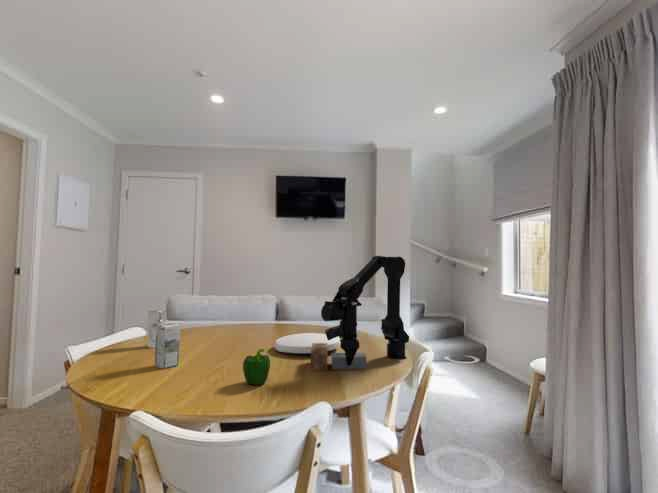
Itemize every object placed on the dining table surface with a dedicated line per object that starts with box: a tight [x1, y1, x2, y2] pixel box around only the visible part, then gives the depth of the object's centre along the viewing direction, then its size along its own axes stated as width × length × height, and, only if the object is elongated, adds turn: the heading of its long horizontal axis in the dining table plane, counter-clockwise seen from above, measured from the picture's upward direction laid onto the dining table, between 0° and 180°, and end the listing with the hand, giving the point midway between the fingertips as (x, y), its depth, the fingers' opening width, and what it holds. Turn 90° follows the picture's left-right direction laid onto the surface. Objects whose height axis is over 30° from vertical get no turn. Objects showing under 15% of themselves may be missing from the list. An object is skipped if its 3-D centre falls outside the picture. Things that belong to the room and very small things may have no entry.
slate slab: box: [330, 352, 367, 370], centre depth 125 cm, size 12×6×4 cm, turn 95°
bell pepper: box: [242, 348, 271, 386], centre depth 107 cm, size 8×8×10 cm
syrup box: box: [154, 322, 181, 370], centre depth 123 cm, size 6×6×14 cm
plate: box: [274, 332, 341, 354], centre depth 149 cm, size 28×6×27 cm
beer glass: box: [146, 309, 166, 349], centre depth 151 cm, size 7×7×15 cm
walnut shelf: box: [310, 343, 328, 372], centre depth 125 cm, size 6×11×7 cm, turn 0°
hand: (348, 362), depth 125 cm, fingers closed on slate slab, 6 cm apart
